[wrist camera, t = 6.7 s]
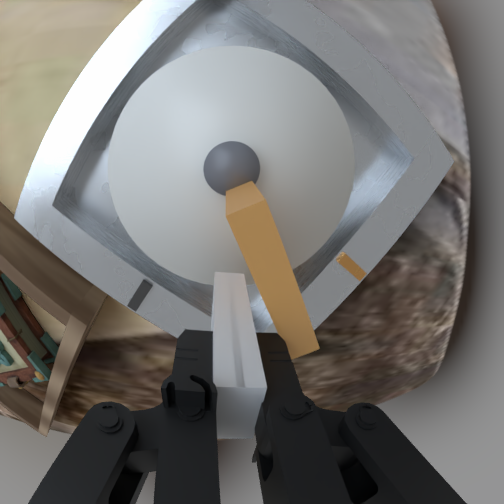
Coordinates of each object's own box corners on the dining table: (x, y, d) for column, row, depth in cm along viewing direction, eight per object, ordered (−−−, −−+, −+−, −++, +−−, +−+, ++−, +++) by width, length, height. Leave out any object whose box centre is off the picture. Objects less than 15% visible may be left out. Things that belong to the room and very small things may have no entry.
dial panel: (209, -32, 9) (207, -59, 6) (431, 156, 15) (462, 162, 12) (34, 207, 14) (5, 221, 11) (255, 356, 20) (260, 387, 17)
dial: (89, 118, 11) (10, 111, 5) (295, 32, 11) (340, -30, 5) (184, 310, 16) (168, 395, 10) (367, 238, 16) (434, 292, 9)
